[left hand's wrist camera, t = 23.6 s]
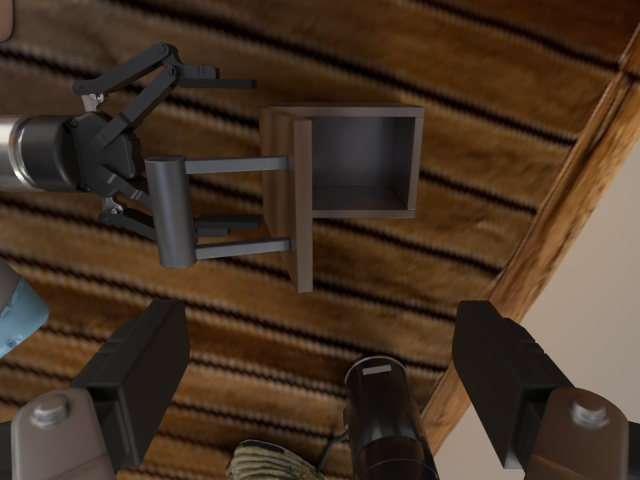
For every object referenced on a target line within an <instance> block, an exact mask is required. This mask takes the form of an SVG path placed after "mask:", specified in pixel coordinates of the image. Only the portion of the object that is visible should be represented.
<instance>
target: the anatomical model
mask: <svg viewBox="0 0 640 480" xmlns="http://www.w3.org/2000/svg"><path fill="white" fill-rule="evenodd" d="M12 28H13V3H12V0H0V42H2V41H5V40H6V39H8V38H9V37H10V35H11V33H12Z"/></svg>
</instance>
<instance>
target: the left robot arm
mask: <svg viewBox="0 0 640 480" xmlns="http://www.w3.org/2000/svg"><path fill="white" fill-rule="evenodd" d="M189 356H190V343H189V336H188V329H187V322H186V315H185V308H184V304H183V302H182V301H181V300H153V301H152V302H151V303H150V305H149V306H148V307H147V309H146V310H145V311H144V312H143V314H142V315H141V316H140V317H133V318H132V319H130V320H128V321H127V322H125V323H124V324H122V325H121V326H119V327H118V328H117V329H116V330H115V331H114V332H113V334H112V335H111V336H110V337H109V338H108V340H107V342H105V343H104V344H103V345H102V347H101V348H100V349H99V352H98V353H96V354H95V355H94V356H93V357H92V358H91V360H90V361H89V362H88V363H87V364H86V366H85V367H84V368H83V369H82V370H81V372H80V373H79V374H78V375H77V376H76V377H75V379H74V380H73V381H72V382H71V383H70V385H69V386H68V387H65V388H60V389H56V390H53V391H50V392H47V393H45V394H42V395H40V396H38V397H37V398H35V399H33V400H32V401H30V402H29V403H27V404H26V405H25V406H24V407H23V408H21V409H20V410H19V412H18V413H17V414H16V415H15V417H14V418H13V420H12V421H7V422H3V423H0V480H116V475H117V473H118V471H119V469H120V467H140V465H141V462H142V460H143V458H144V456H145V454H146V452H147V450H148V448H149V446H150V444H151V441H152V439H153V437H154V435H155V433H156V431H157V429H158V427H159V425H160V423H161V420H162V418H163V416H164V414H165V412H166V410H167V408H168V406H169V404H170V402H171V399H172V397H173V395H174V393H175V391H176V389H177V387H178V385H179V383H180V381H181V378H182V376H183V374H184V372H185V370H186V368H187V365H188V362H189ZM452 357H453V363H454V366H455V369H456V371H457V373H458V375H459V377H460V379H461V381H462V383H463V385H464V387H465V389H466V392H467V394H468V396H469V398H470V400H471V402H472V404H473V406H474V408H475V410H476V412H477V414H478V416H479V418H480V420H481V423H482V425H483V427H484V429H485V431H486V433H487V435H488V437H489V439H490V441H491V443H492V445H493V448H494V450H495V452H496V454H497V456H498V458H499V460H500V462H501V464H502V466H503V468H504V469H523V470H524V472H525V477H524V480H640V424H638V423H634V422H630V421H628V420H627V418H626V417H625V415H624V414H623V413H622V412H621V410H620V409H619V408H617V407H616V406H615V405H614V404H613V403H611V402H610V401H608V400H607V399H605V398H603V397H602V396H600V395H597V394H595V393H593V392H590V391H587V390H584V389H580V388H575V387H574V385H573V384H572V383H571V382H570V381H569V380H568V378H567V377H566V376H565V375H564V374H563V373H562V371H561V370H560V369H559V368H558V367H557V365H556V364H555V363H554V362H553V361H552V360H551V358H550V357H549V356H548V355H547V354H544V350H543V349H542V348H541V347H540V346H539V344H538V343H535V340H534V338H533V337H532V336H531V335H530V334H529V333H528V331H527V330H526V329H525V328H524V327H522V326H521V325H519V324H517V323H516V322H514V321H513V320H511V319H510V318H502V316H501V315H500V314H499V313H498V311H497V310H496V309H495V307H494V306H493V305H492V304H491V303H490V302H489V301H460V303H459V305H458V309H457V316H456V323H455V330H454V337H453V343H452ZM344 381H345V390H346V395H345V398H346V408H345V409H344V411H343V420H344V428H346V429H348V430H347V431H346V432H345V433H343V434H342V435H341V436H337V437H334V438H333V439H332V440H331V441H330V442H329V444H328V446H327V448H326V450H325V452H324V455H323V457H322V459H321V461H320V463H319V465H318V467H317V468H316V473H319V472H320V470H321V469H322V467H323V465H324V463H325V461H326V459H327V456H328V454H329V452H330V450H331V448H332V446H333V445H334V444H335V443H336V442H339V441H342V440H344V439H345V438H347V437H348V436H349V446H350V449H351V456H352V467H353V478H354V480H440V479H439V476H438V472H437V469H436V466H435V462H434V459H433V456H432V453H431V450H430V446H429V443H428V440H427V437H426V433H425V430H424V427H423V423H422V420H421V417H420V414H419V410H418V407H417V404H416V400H415V397H414V394H413V390H412V387H411V384H410V379H409V375H408V372H407V369H406V367H405V366H404V364H403V363H402V362H401V361H399V360H398V359H397V358H395V357H393V356H390V355H386V354H370V355H366V356H363V357H361V358H359V359H357V360H356V361H355V362H353V363H352V364H351V365H350V367H349V368H348V370H347V372H346V374H345V380H344Z"/></svg>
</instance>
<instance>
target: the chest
mask: <svg viewBox="0 0 640 480" xmlns="http://www.w3.org/2000/svg"><path fill="white" fill-rule="evenodd" d="M266 107H270V108H274V109H277V110H280V111H283V112H287V113H290V114H293V115H296V116H300V117H303V118H306V119H310V120H312V218H415V209H416V199H417V189H418V178H419V167H420V157H421V146H422V136H423V125H424V115H425V107H421V106H416V105H411V104H405V103H339V102H277V103H275V104H272V105H269V106H266Z"/></svg>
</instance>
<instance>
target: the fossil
mask: <svg viewBox="0 0 640 480" xmlns="http://www.w3.org/2000/svg"><path fill="white" fill-rule="evenodd" d="M225 471H226V475H227V480H327V479H326V477H325V476H324V475H323V474H322V473H320V472H319V473H316V468H315V467H314V466H312V465H311V464H309V463H308V462H306V461H304V460H303V459H302V458H301V457H299V456H298V455H296V454H294V453H292V452H291V451H289V450H287V449H285V448H283V447H281V446H278V445H276V444H271V443H268V442H261V441H258V440H246V441H243V442H241V443H240V444H239V445H238V446H237V448H236V449H235V452H234V456H233V459H232V460H231V461H230V462H229V463H228V465H227V467H226V470H225Z"/></svg>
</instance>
